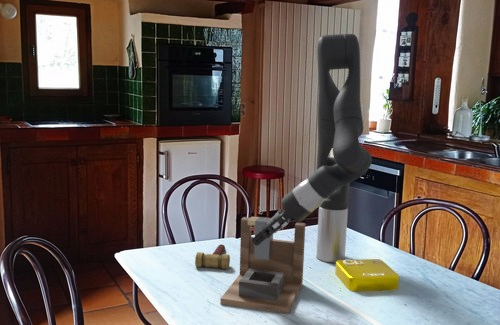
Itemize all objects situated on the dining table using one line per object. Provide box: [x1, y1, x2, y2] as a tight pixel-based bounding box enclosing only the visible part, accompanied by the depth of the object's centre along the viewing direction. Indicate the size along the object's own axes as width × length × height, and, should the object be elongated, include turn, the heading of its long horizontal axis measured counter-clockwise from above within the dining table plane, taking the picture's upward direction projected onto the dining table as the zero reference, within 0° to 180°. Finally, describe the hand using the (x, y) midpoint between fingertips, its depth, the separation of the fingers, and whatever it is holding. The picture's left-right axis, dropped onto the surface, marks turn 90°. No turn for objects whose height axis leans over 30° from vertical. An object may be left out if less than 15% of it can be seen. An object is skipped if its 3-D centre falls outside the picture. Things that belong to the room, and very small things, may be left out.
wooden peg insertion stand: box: [219, 216, 306, 315], centre depth 143 cm, size 20×18×18 cm
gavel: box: [194, 244, 231, 270], centre depth 171 cm, size 21×5×10 cm
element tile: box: [334, 258, 400, 292], centre depth 156 cm, size 15×15×5 cm
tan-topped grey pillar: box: [248, 216, 274, 260], centre depth 140 cm, size 4×6×10 cm, turn 75°
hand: (256, 240), depth 140 cm, fingers closed on tan-topped grey pillar, 4 cm apart
